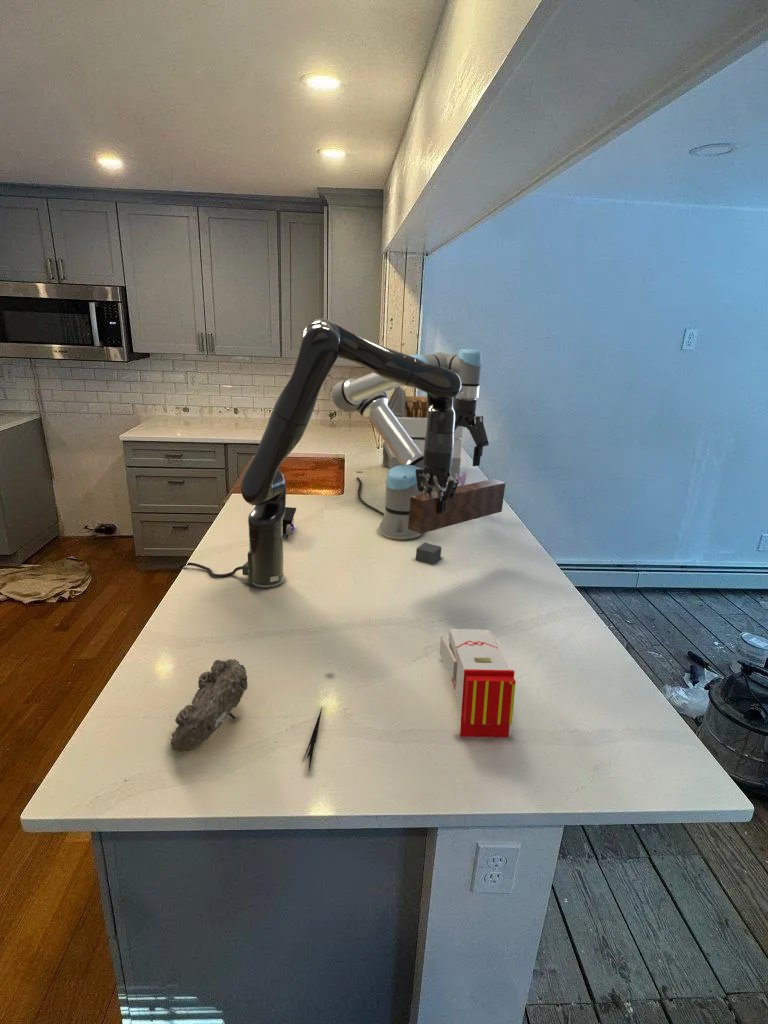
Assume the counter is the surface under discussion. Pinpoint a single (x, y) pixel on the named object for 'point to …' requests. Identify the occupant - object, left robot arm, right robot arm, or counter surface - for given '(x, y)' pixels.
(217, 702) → the fossil
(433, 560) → the grey block
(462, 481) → the figurine
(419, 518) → the walnut bar
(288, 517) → the figurine character
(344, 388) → the right robot arm
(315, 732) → the feather
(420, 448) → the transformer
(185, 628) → the counter surface
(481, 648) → the toy
